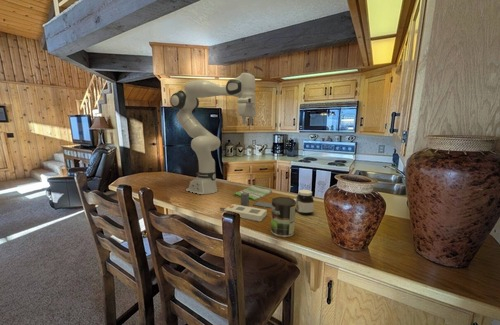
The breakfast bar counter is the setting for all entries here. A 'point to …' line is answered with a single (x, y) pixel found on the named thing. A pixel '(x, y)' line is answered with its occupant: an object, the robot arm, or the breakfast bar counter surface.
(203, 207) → the breakfast bar counter surface
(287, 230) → the coffee can
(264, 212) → the power strip
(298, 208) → the spread jar
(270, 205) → the phone slab
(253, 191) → the dish towel
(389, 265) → the breakfast bar counter surface
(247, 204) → the charger plug
